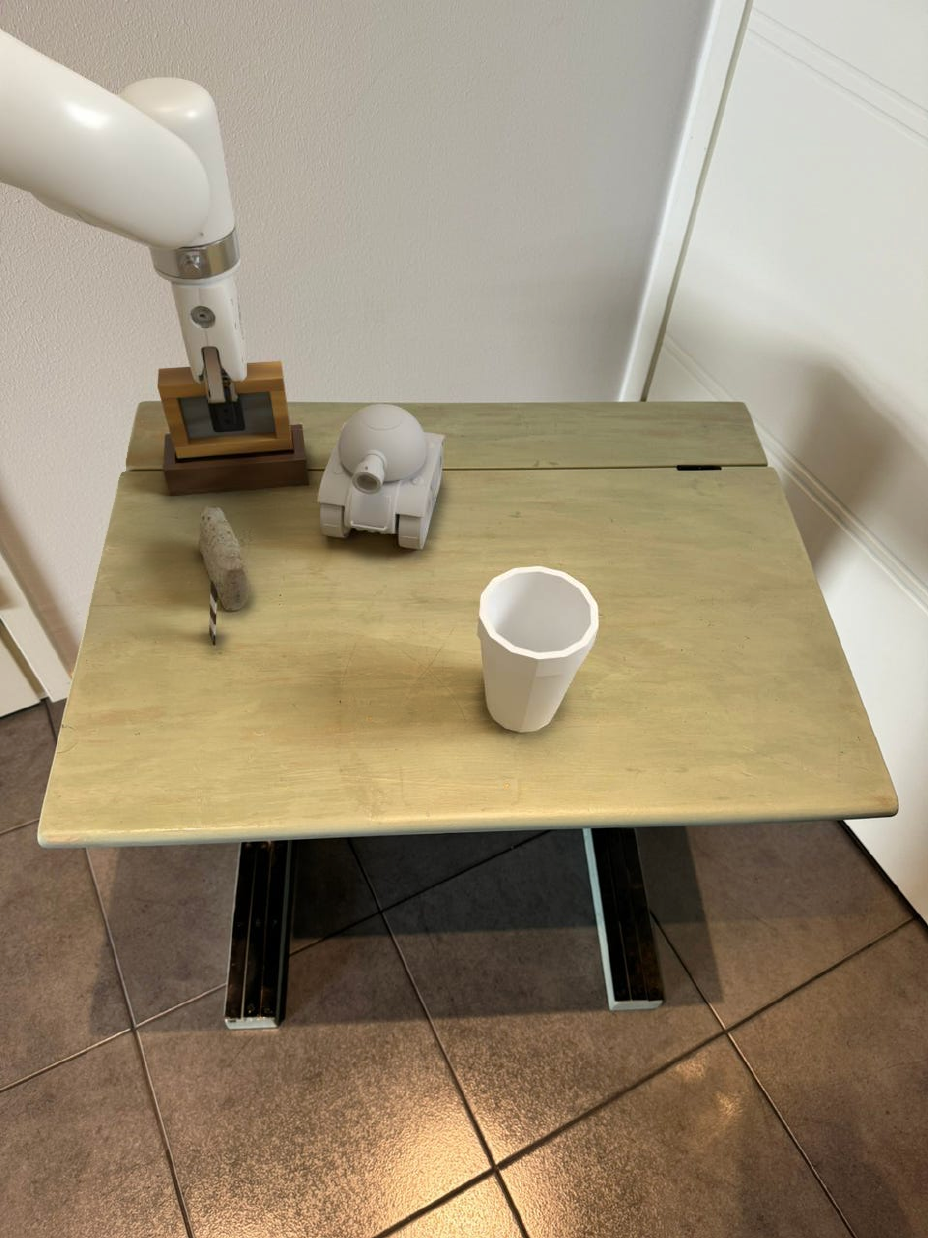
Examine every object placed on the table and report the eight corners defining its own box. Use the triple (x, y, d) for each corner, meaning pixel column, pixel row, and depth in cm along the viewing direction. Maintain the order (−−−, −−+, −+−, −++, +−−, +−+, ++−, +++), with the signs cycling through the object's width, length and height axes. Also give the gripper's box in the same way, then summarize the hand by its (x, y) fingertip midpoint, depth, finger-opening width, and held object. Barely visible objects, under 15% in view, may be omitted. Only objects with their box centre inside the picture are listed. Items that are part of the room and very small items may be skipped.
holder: (170, 496, 89) (162, 470, 87) (171, 459, 93) (164, 433, 90) (308, 484, 92) (305, 458, 89) (305, 449, 95) (302, 423, 93)
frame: (292, 449, 89) (283, 377, 82) (177, 458, 88) (157, 386, 81) (291, 431, 91) (281, 360, 84) (177, 440, 89) (158, 368, 82)
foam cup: (560, 656, 79) (583, 562, 68) (584, 741, 73) (613, 651, 63) (461, 666, 77) (469, 571, 67) (478, 753, 72) (489, 664, 61)
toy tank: (420, 570, 84) (422, 472, 74) (318, 554, 85) (306, 455, 75) (444, 473, 94) (449, 375, 84) (353, 460, 94) (346, 361, 84)
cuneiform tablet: (213, 645, 77) (178, 558, 84) (260, 635, 79) (222, 551, 86) (215, 591, 72) (177, 503, 79) (265, 582, 74) (224, 497, 81)
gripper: (240, 294, 68) (269, 467, 82) (236, 201, 78) (263, 370, 92) (145, 299, 67) (191, 474, 81) (153, 204, 77) (193, 375, 91)
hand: (229, 417), depth 87 cm, fingers closed on frame, 2 cm apart
